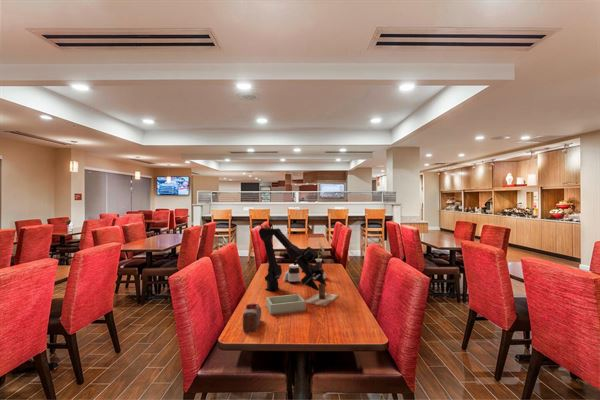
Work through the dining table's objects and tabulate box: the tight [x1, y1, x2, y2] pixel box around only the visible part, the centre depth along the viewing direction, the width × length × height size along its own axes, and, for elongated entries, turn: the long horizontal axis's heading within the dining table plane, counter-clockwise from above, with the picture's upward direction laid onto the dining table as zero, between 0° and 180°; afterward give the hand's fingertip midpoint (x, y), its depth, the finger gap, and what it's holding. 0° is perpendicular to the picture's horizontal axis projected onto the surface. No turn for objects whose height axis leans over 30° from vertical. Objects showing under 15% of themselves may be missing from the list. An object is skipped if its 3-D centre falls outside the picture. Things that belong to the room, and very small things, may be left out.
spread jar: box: [283, 263, 301, 284], centre depth 211 cm, size 12×11×12 cm
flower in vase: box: [314, 242, 328, 280], centre depth 219 cm, size 13×11×25 cm
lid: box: [304, 283, 339, 307], centre depth 176 cm, size 13×19×9 cm
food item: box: [241, 302, 262, 333], centre depth 141 cm, size 14×8×10 cm, turn 4°
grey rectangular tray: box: [265, 293, 306, 316], centre depth 161 cm, size 12×18×5 cm, turn 107°
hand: (322, 288), depth 176 cm, fingers open, 9 cm apart
